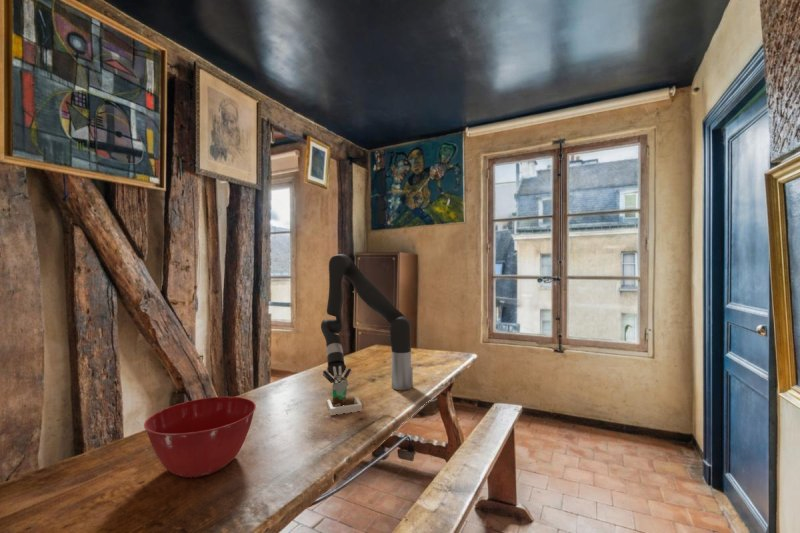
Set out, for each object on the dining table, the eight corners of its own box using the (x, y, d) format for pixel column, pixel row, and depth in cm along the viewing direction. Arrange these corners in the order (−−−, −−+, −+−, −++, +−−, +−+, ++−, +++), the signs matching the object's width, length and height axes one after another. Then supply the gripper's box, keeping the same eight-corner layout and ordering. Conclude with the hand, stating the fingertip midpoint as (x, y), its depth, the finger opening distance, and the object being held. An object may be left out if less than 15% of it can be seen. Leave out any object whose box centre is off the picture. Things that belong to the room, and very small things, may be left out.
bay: (356, 401, 157) (356, 396, 157) (362, 411, 147) (362, 404, 147) (327, 405, 153) (327, 399, 153) (330, 415, 143) (330, 408, 143)
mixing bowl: (185, 441, 123) (185, 394, 123) (270, 441, 122) (270, 395, 122) (118, 494, 94) (117, 433, 94) (228, 495, 94) (227, 434, 93)
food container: (348, 409, 149) (348, 384, 149) (332, 409, 148) (332, 384, 148) (348, 398, 161) (348, 375, 161) (334, 398, 160) (334, 375, 160)
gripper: (321, 352, 167) (324, 388, 155) (350, 350, 171) (355, 384, 159) (320, 361, 172) (322, 396, 160) (348, 358, 176) (353, 393, 164)
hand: (339, 390), depth 160 cm, fingers closed
